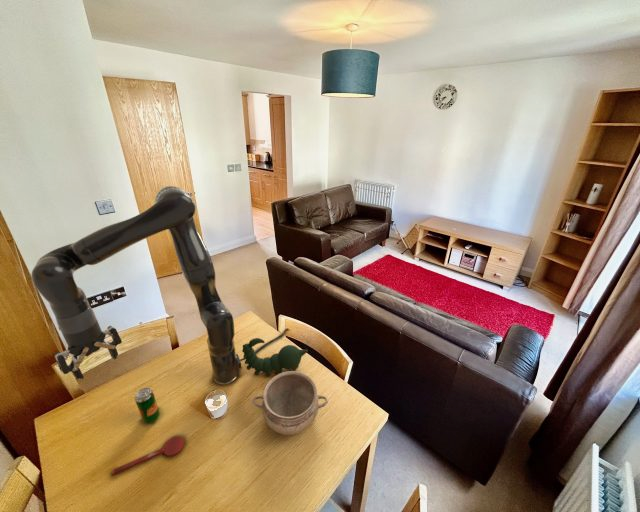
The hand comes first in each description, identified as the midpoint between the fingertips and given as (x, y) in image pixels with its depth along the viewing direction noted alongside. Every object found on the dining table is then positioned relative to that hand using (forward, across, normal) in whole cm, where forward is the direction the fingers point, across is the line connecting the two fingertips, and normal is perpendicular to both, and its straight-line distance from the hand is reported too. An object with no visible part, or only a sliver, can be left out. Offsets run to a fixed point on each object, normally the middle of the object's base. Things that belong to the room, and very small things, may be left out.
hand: (98, 367), depth 80 cm
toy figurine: (+26, +44, -30) cm, 59 cm away
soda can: (+25, +6, -7) cm, 27 cm away
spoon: (+25, -2, -19) cm, 31 cm away
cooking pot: (+26, +31, -47) cm, 62 cm away
